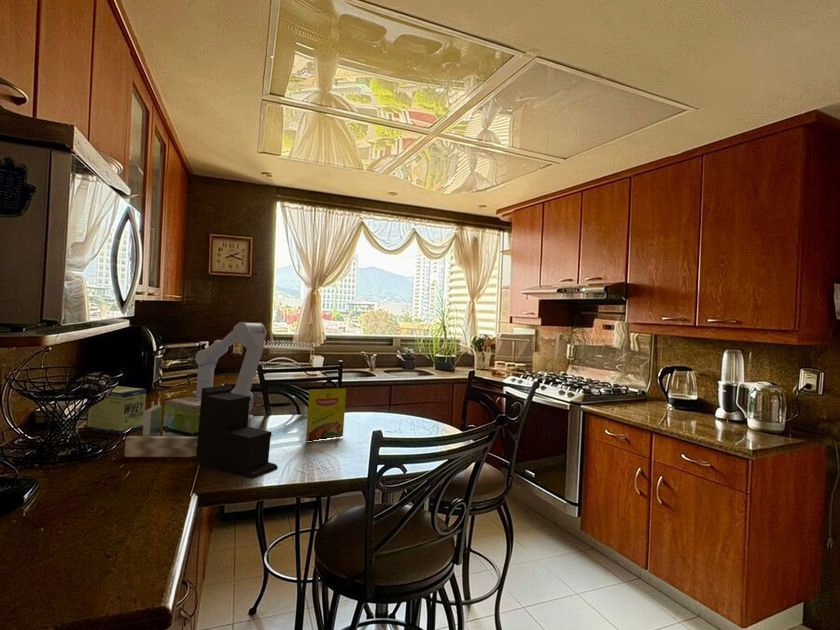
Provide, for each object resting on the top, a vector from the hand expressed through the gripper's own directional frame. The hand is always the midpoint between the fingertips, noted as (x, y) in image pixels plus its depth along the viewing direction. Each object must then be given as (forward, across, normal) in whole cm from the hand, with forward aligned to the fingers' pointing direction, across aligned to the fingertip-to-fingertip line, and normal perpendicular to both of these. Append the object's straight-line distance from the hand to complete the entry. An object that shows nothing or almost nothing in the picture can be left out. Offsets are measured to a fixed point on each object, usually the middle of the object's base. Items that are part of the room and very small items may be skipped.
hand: (202, 415), depth 172 cm
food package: (+6, +13, +48) cm, 50 cm away
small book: (+6, +28, -8) cm, 29 cm away
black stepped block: (+6, +43, +22) cm, 49 cm away
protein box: (+6, +1, -30) cm, 31 cm away
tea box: (+6, +16, 0) cm, 17 cm away
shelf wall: (+6, +33, 0) cm, 34 cm away
